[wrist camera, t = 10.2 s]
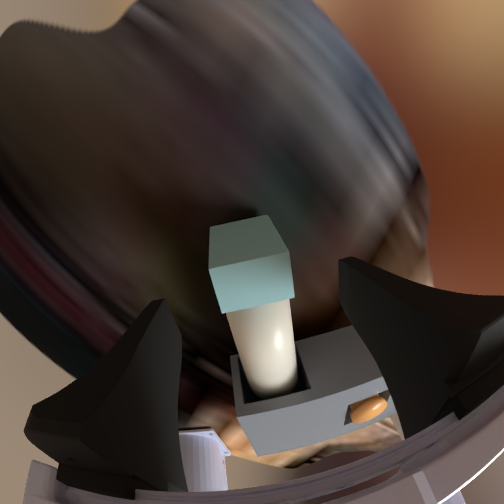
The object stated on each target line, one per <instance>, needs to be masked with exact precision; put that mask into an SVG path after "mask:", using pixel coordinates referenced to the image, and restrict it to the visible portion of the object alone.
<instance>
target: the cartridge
mask: <svg viewBox="0 0 504 504" xmlns="http://www.w3.org/2000/svg"><path fill="white" fill-rule="evenodd" d="M209 273H210V276H211V279H212V283H213V286H214V289H215V293H216V296H217V299H218V302H219V306H220V309H221V312H222V314H223V313H226V316H227V319H228V322H229V325H230V328H231V332H232V335H233V338H234V341H235V344H236V347H237V350H238V353H239V356H240V359H241V362H242V365H243V368H244V371H245V374H246V377H247V380H248V383H249V386H250V389H251V390H252V392H253V393H254V394H255V395H257V396H258V397H261V398H264V399H272V398H277V397H281V396H285V395H288V394H289V393H291V392H292V391H293V390H294V388H295V387H296V385H297V382H298V373H297V363H296V354H295V344H294V336H293V327H292V318H291V310H290V302H289V299H290V298H294V288H293V280H292V271H291V263H290V255H289V251H288V249H287V247H286V245H285V244H284V242H283V240H282V238H281V237H280V235H279V233H278V232H277V230H276V228H275V227H274V225H273V223H272V221H271V220H270V218H269V216H268V215H263V216H258V217H254V218H249V219H244V220H240V221H235V222H230V223H226V224H221V225H217V226H212V227H210V238H209Z"/></svg>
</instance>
